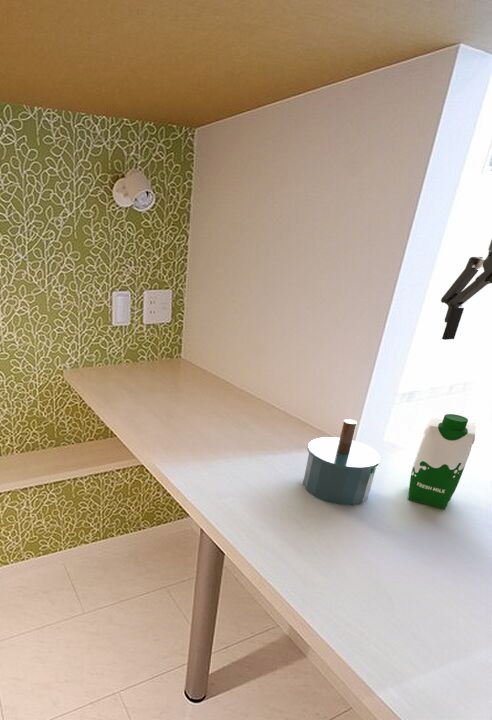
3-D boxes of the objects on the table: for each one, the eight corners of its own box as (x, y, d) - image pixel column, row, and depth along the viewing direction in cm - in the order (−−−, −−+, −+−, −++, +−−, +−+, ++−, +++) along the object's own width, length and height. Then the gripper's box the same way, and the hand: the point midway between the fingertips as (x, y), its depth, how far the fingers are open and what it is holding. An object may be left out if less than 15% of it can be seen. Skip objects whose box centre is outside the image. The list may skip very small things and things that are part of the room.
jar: (380, 500, 96) (392, 462, 91) (331, 512, 91) (340, 472, 87) (336, 472, 107) (344, 437, 103) (290, 480, 103) (297, 444, 99)
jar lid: (395, 466, 91) (406, 430, 88) (339, 477, 87) (348, 440, 83) (344, 438, 104) (351, 406, 100) (292, 446, 99) (299, 413, 96)
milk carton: (402, 500, 96) (430, 416, 87) (407, 482, 103) (432, 403, 94) (449, 513, 92) (483, 426, 83) (450, 494, 98) (482, 412, 90)
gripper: (619, 230, 70) (561, 359, 79) (467, 230, 91) (436, 332, 100) (590, 229, 67) (534, 362, 77) (442, 229, 89) (412, 334, 98)
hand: (479, 346), depth 88 cm, fingers open, 13 cm apart
